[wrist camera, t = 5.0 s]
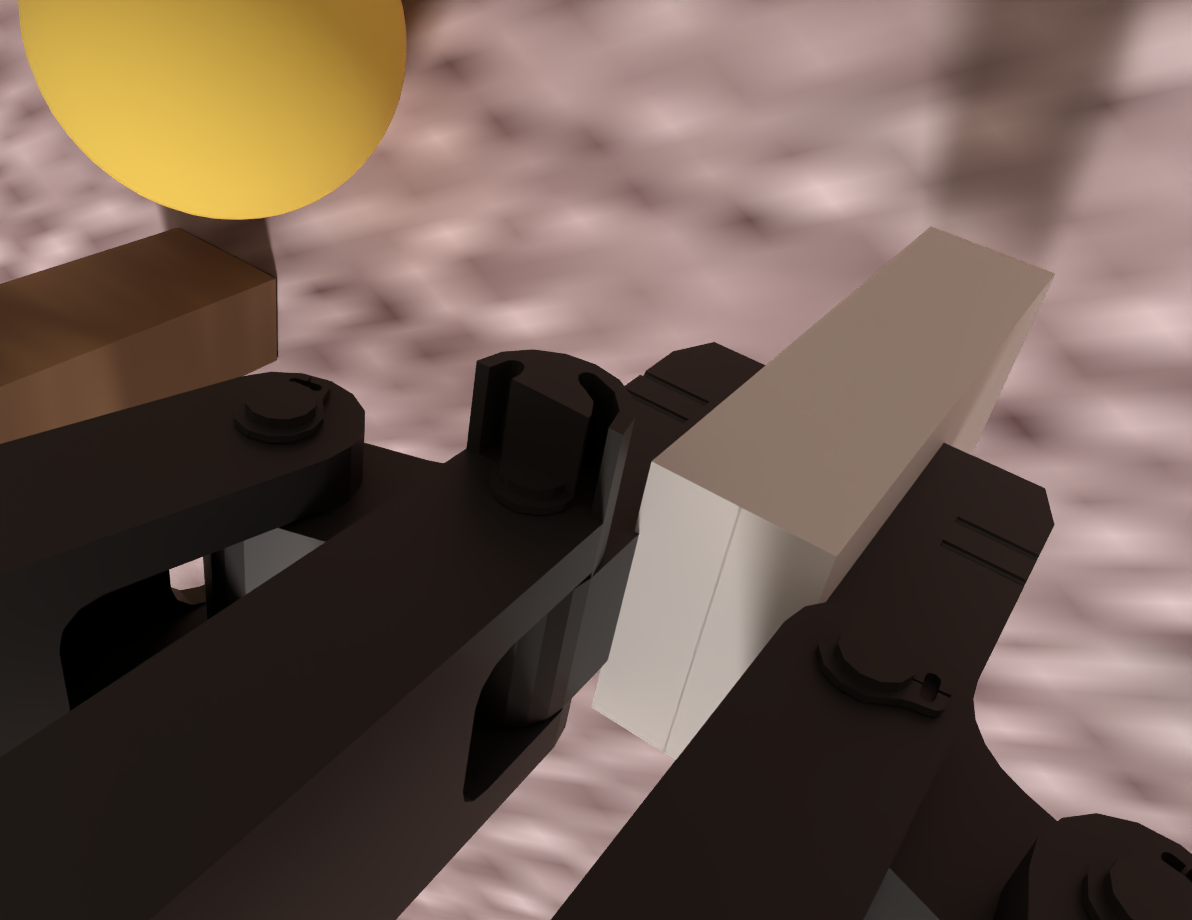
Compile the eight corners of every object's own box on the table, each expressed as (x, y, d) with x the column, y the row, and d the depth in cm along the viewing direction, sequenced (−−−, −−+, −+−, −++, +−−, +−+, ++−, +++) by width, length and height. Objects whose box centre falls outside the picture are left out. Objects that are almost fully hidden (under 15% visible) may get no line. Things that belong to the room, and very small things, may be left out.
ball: (324, -200, 18) (486, -111, 14) (324, 123, 21) (455, 254, 18) (-54, -230, 15) (39, -127, 12) (15, 148, 18) (103, 311, 15)
